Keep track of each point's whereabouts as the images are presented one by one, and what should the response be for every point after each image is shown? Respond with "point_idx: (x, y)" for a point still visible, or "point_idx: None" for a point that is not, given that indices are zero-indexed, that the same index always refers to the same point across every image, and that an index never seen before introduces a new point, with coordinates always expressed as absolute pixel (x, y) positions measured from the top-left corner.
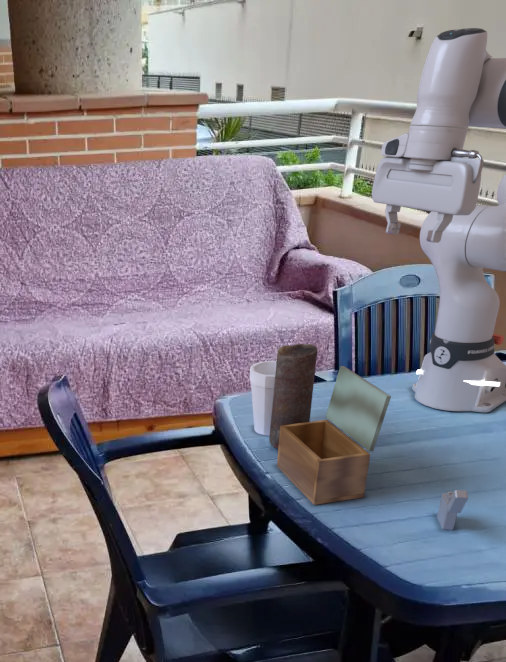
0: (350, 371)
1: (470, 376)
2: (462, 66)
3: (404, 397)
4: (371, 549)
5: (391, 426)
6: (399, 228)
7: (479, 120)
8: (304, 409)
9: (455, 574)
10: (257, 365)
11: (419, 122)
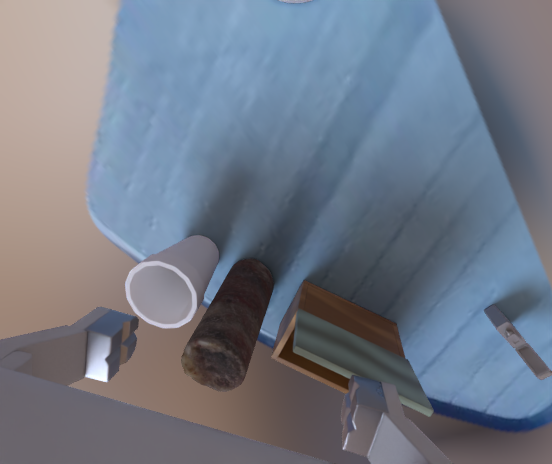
0: (321, 362)
1: None
2: None
3: None
4: (459, 396)
5: (299, 125)
6: (122, 325)
7: None
8: (263, 317)
9: (547, 388)
10: (131, 295)
11: None
